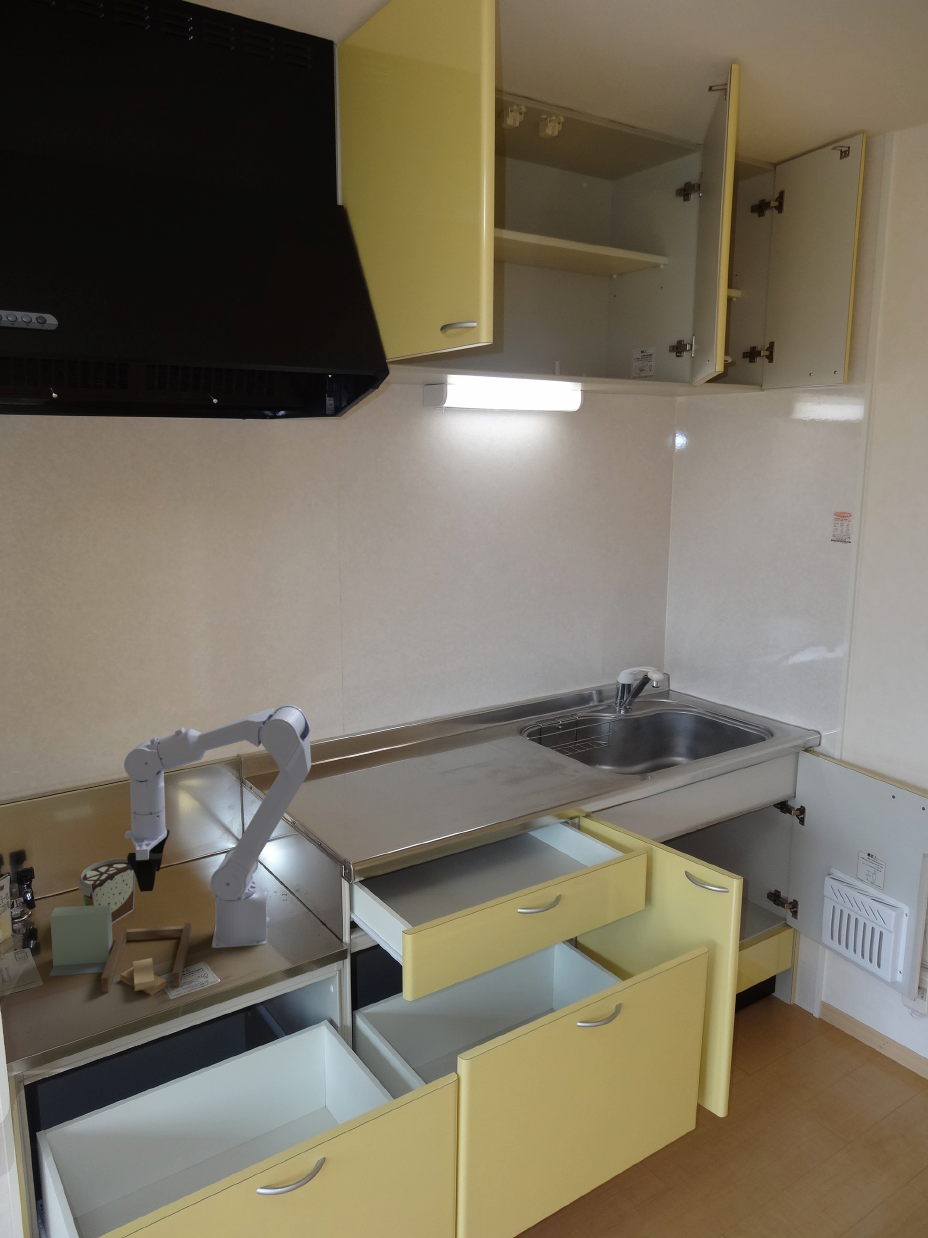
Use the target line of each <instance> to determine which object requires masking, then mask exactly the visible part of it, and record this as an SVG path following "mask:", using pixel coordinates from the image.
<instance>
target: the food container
mask: <svg viewBox="0 0 928 1238" xmlns="http://www.w3.org/2000/svg"><path fill="white" fill-rule="evenodd" d="M135 883H136V875H135V873H134V871H133V869H132V867H131V866H130V864H129V863H128V861H127V857H123V858H121V857H119V858H111V859H106V860H102V861H98V862H96V863H93V864H91V865H89V866H88V867H86V868H84V870H83V871H82V873H81V875H80V877H79V881H78V885H77V886H78V891H79V892H80V893H82V895H83V896H82V897H83V902H84V906H93V905H111V919H112V925H113V924H115V923H116V922H118V921H119V920H121V919H122V918H124V917H126V916H128V915H129V914H130V913H132V912H133V911H135V910H134V909H135V890H136V889H135V888H136V886H135V885H136V884H135Z"/></svg>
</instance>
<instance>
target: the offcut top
mask: <svg viewBox="0 0 928 1238" xmlns="http://www.w3.org/2000/svg"><path fill="white" fill-rule="evenodd" d="M132 964H133V966H132V967H133V969H134V985H135V987H134V992H137V991H142V990H143V989H148V988H153V987H155V985H154V975H155V973H154V963H153V957H150V958H145V959H140V960H139V959H138V960H134V961H132Z"/></svg>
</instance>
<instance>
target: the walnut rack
mask: <svg viewBox="0 0 928 1238" xmlns="http://www.w3.org/2000/svg"><path fill="white" fill-rule="evenodd" d="M192 934H193V933H192V924H191V922H186V923H184V925H174V926H173V925H172V926H159V927H157V926H156V927H143V928H142V927H141V928H128V927H127V926H121V927H120V928H119V931H118V933H117V935H116V937H115V941H114V942H113V944H114V946H113V948H112V951H111V953H110V956H109V959H108V961H107V964H106V966H105V969H104V972H103V973H101V977H100V981H101V982H100V986H101V987H100V988H101V994H108V993H110V992H109V991H110V989H111V985H112V983H113V981H114V978H115V975H116V972H117V971H118V966H119V964H120V961H121V959H122V956H123V954H124V949H125V948H126V945H127V942H128V941H142V940H143V941H144V940H156V939H160V940H161V939H171V938H173V939H174V938H180V942H179V945H178V949H177V953H176V958H175V961H174V964H173V965H174V966H173V969H172V974H171V975H172V988H173V989H174V988H175V989H178V988H180V986H181V982H182V977H183V973H184V968H185V964H186V959H187V955H188V951H189V948H190V947H189V946H190V943H191V938H192Z"/></svg>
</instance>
